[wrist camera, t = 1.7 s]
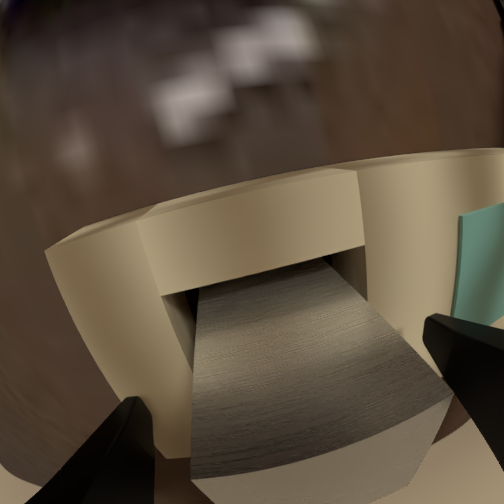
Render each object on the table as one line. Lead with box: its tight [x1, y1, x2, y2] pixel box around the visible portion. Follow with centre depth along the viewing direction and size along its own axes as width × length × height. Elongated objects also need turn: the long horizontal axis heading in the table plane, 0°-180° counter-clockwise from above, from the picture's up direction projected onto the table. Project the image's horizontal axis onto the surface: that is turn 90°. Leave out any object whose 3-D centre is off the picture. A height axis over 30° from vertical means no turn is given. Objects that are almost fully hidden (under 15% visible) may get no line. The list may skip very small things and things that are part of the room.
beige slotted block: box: [44, 148, 504, 459], centre depth 10 cm, size 21×10×3 cm, turn 102°
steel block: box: [190, 257, 454, 504], centre depth 8 cm, size 4×4×8 cm
